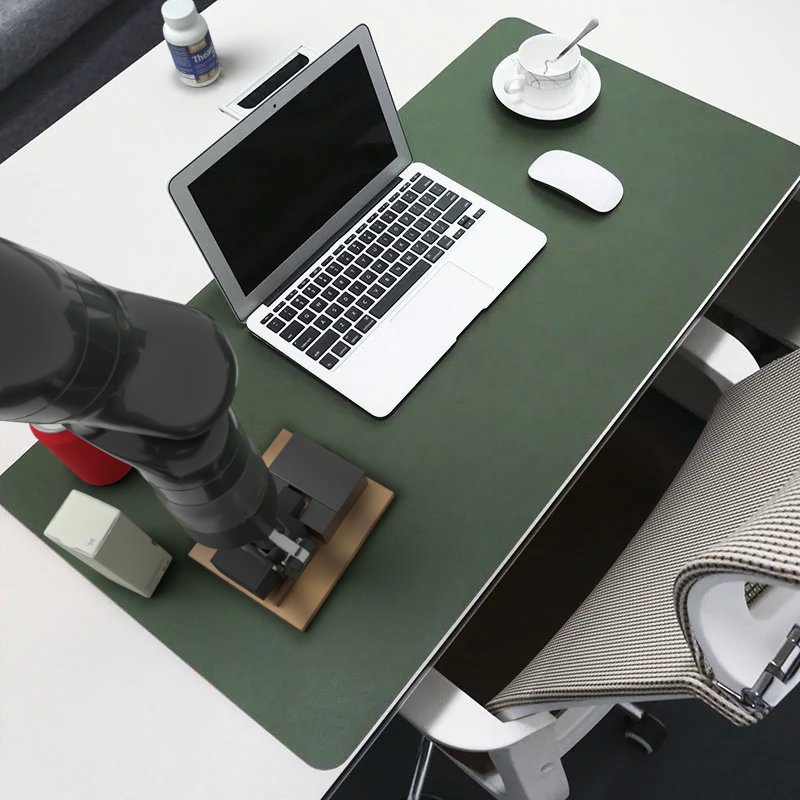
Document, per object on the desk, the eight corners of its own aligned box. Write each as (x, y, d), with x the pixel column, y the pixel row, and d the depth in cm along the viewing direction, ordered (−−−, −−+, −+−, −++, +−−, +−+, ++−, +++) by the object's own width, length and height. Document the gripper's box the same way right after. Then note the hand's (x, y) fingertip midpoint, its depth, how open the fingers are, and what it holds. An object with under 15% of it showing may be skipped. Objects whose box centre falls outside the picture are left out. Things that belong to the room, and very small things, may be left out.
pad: (263, 601, 73) (255, 591, 70) (219, 571, 75) (209, 560, 72) (322, 517, 77) (316, 504, 73) (278, 491, 78) (271, 477, 75)
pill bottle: (207, 93, 105) (184, 27, 97) (171, 82, 107) (146, 16, 98) (229, 65, 108) (208, -2, 99) (194, 54, 109) (171, -13, 100)
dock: (303, 632, 74) (295, 622, 70) (190, 557, 78) (177, 544, 74) (394, 496, 79) (391, 480, 76) (284, 432, 83) (277, 414, 79)
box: (175, 557, 78) (126, 510, 66) (149, 600, 76) (94, 560, 65) (128, 535, 79) (71, 486, 68) (102, 577, 77) (40, 534, 66)
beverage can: (118, 419, 85) (69, 360, 74) (151, 461, 82) (105, 406, 72) (65, 456, 83) (7, 402, 73) (96, 501, 81) (41, 451, 70)
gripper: (105, 475, 60) (176, 546, 76) (263, 577, 56) (304, 631, 71) (171, 396, 63) (226, 480, 78) (326, 487, 59) (353, 558, 74)
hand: (263, 551), depth 75 cm, fingers closed on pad, 5 cm apart
